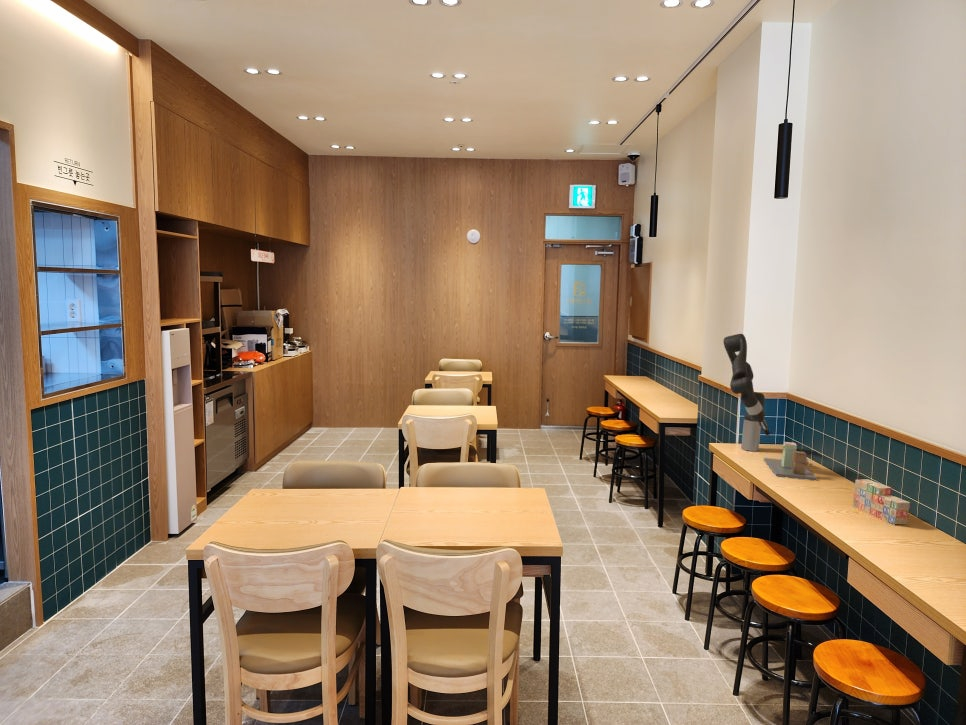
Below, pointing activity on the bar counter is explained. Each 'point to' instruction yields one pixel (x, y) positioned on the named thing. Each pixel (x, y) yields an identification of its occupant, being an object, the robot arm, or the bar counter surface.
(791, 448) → the pale green block
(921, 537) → the bar counter surface
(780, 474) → the rail board
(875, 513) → the stack of blocks
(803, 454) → the brown block
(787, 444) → the cream block
